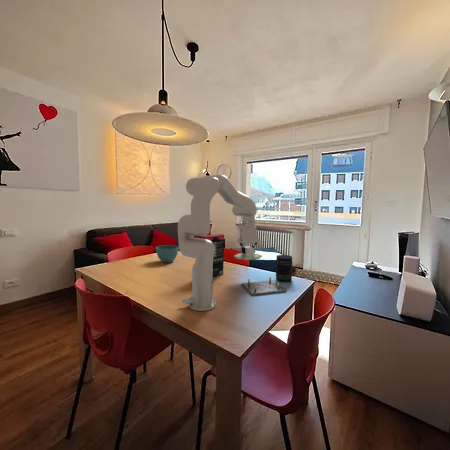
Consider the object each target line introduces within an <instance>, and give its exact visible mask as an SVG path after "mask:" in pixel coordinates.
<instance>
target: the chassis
mask: <svg viewBox="0 0 450 450" xmlns="http://www.w3.org/2000/svg"><path fill="white" fill-rule="evenodd" d="M268 279H269V280H263V281H262V280H261V281H252V282H251V281H250V280H251V279H249V278H248V279H247V282H242V283H241V286H242V287H243V288H244V289H245V290H246V291H247V292H248V293H249V294H250V295H251V296H252V297H253V296H254V297H255V296H262V295H264V296H265V295H271V294H279V293H280V294H281V293H287V289H286V288H285V287H283V286H281V285H280V283H279V282H277V281H274V280H272V277H270V276H269V278H268Z"/></svg>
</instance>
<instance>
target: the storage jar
mask: <svg viewBox="0 0 450 450" xmlns="http://www.w3.org/2000/svg"><path fill="white" fill-rule="evenodd" d="M275 259H276V262H275V265H276V270H275V281H276V282H278V283H279V282H280V283H291V282H292V279H293V278H292V277H293V272H292V271H293V256H292V255H287V254H278V255H276V258H275Z"/></svg>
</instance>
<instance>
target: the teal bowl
mask: <svg viewBox="0 0 450 450" xmlns="http://www.w3.org/2000/svg"><path fill="white" fill-rule="evenodd" d="M155 252H156V255H157V257H158V259H159V260H160V261H161V262H162V263H163V262H170V263H172V261H173V262H174V261H175V260H176V258H177V257H178V256H177V255H178V253H179V245H175V244H165V245H164V244H162V245H159V246H156V247H155Z"/></svg>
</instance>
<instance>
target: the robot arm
mask: <svg viewBox="0 0 450 450" xmlns="http://www.w3.org/2000/svg"><path fill="white" fill-rule="evenodd" d="M185 189H186V192H187V194H189V195H190V196H192V199H191V202H190V214H183V216H181V217H180V218H179V220H178V224H177V236H178V237H177V238H178V239H177V240H178V246H179V249H178V251H179V252H180V255H182V256H184V257H187V258H191V259H194V260H195V261H194V263H193V265H192V267H191V285H192V286H191V288H192V289H191V290H192V291H191V292H192V293H191V294H190V296H189V297H182V298H181V302H182V303H185V305H188V308H189V309H191V310H193V311H196V312H207V311H211V310H212V309H214V308H215V307H216V305H217V302H216V300H215V299H214V298H213V293H214V291H213V289H214V287H213V286H214V285H213V284H214V283H213V277H214V276H213V257H214V252H215V246H214V244H213V242H211V241H210V240H207V239H202V238H199V236H207V235H210V232H211V216H210V215H211V212H210V211H211V210H210V208H211V207H210V205H211V202H212V200H213V198H214V197H215V195H216V194H218V195H219V197H221V199H222V200H224V202H225V203H226V204H230V205H233V206H232V209H231V211H232V214H233V215H234V216H236V217H242V220H241V222H240V225H241V227H240V233H239V238H238V239H237V240H236V243H237V244H238V245H239V246H240V247H241V254H242V253H243V254H245V246H246V244H251V245H250V247H253V248H254V251H255V249H256V248H255V247H257V245H258V244H259V242H260V239H259V238H258V230H257V226H256V218H255V217H256V215H257V213H258V210H257V209H258V207H257V206H256V203H255V202H254V201H253V199H252V198H251V197H249V196H248V195H246V194H244V193H242V192H241V191H238V190H237V188H236V187H235V186H234V185H233V183H232V182H231V181H230V179H229V178H228V177H227V176H226V175H224V174H214V175H212V174H211V175H205V176H197V177H192V178H189V179H188V180H187V181H186V183H185ZM194 236H195V237H194Z"/></svg>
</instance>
